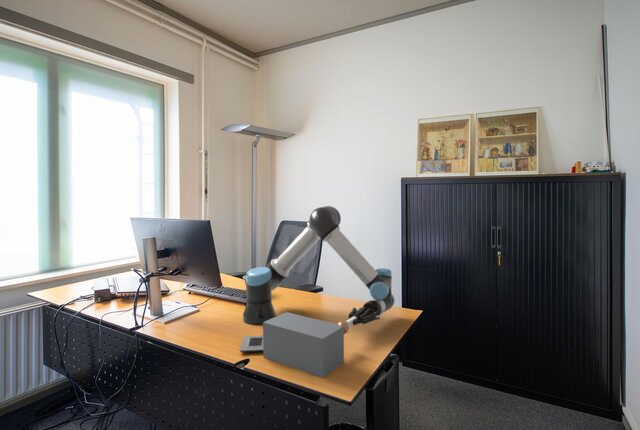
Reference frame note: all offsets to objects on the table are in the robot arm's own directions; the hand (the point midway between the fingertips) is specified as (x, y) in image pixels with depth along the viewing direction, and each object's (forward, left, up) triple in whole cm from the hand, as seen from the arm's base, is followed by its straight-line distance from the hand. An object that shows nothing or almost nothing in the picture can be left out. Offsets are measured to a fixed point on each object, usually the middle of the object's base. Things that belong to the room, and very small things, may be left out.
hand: (346, 325), depth 138 cm
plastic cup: (-73, +41, -8) cm, 84 cm away
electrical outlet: (-32, -15, -9) cm, 36 cm away
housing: (-10, -17, -8) cm, 22 cm away
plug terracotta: (-1, -8, -2) cm, 9 cm away
